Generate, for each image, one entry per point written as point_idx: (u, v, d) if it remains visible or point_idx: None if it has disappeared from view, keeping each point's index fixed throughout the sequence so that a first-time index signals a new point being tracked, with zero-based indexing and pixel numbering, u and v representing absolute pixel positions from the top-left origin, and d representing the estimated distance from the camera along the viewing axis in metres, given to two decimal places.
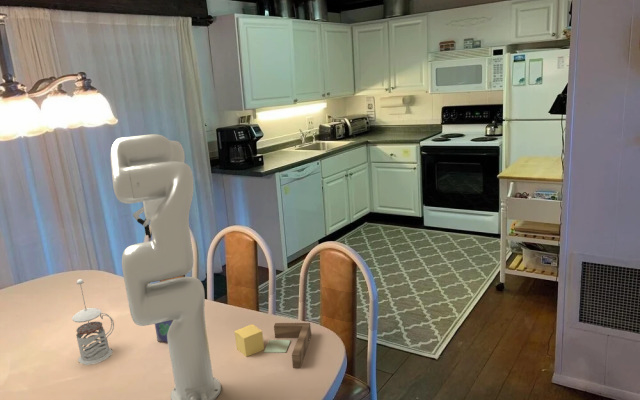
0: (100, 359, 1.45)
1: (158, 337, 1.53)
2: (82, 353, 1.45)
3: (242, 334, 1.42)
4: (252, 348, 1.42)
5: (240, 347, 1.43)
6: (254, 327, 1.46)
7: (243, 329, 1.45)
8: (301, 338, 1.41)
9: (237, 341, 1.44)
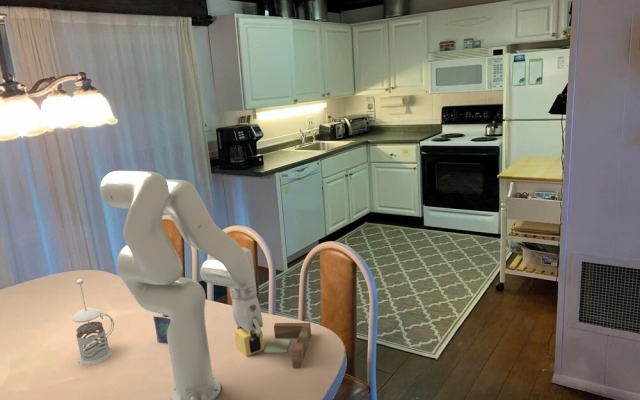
0: (100, 359, 1.45)
1: (158, 337, 1.53)
2: (82, 353, 1.45)
3: (242, 334, 1.42)
4: None
5: (240, 346, 1.43)
6: None
7: (243, 329, 1.45)
8: (301, 338, 1.41)
9: (237, 341, 1.44)
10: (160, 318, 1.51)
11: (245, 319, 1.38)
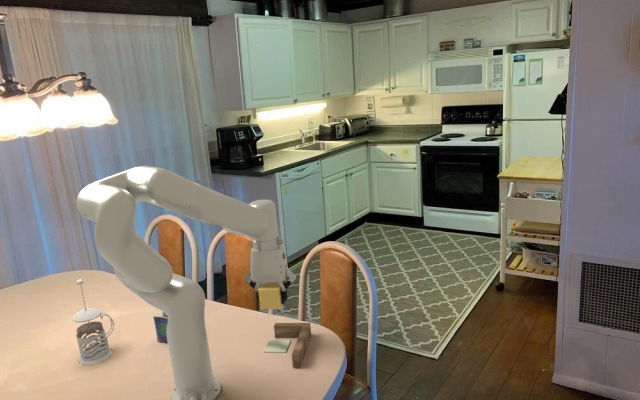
0: (100, 359, 1.45)
1: (158, 337, 1.53)
2: (82, 353, 1.45)
3: (270, 288, 1.39)
4: None
5: (269, 303, 1.39)
6: None
7: (264, 286, 1.41)
8: (301, 338, 1.41)
9: (263, 299, 1.39)
10: (160, 318, 1.51)
11: (279, 269, 1.37)
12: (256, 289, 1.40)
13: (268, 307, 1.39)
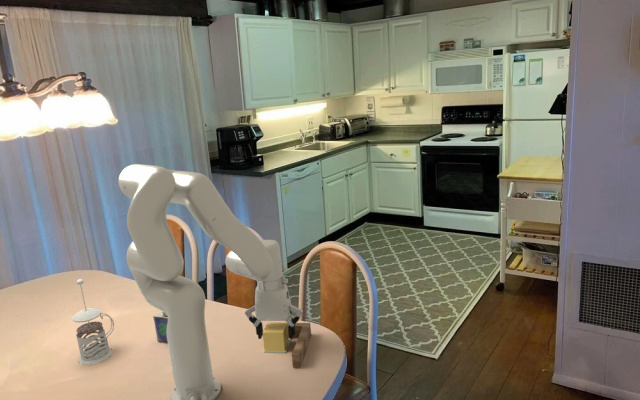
0: (100, 359, 1.45)
1: (158, 337, 1.53)
2: (82, 353, 1.45)
3: (275, 331, 1.42)
4: (285, 341, 1.44)
5: (273, 345, 1.42)
6: (274, 323, 1.46)
7: (268, 328, 1.44)
8: (301, 338, 1.41)
9: (267, 341, 1.42)
10: (160, 318, 1.51)
11: (283, 308, 1.39)
12: (255, 324, 1.43)
13: (272, 349, 1.42)
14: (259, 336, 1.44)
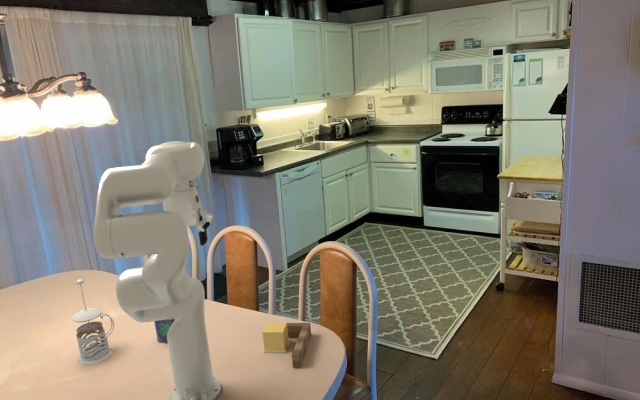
0: (100, 359, 1.45)
1: (158, 337, 1.53)
2: (82, 353, 1.45)
3: (275, 331, 1.42)
4: (285, 341, 1.44)
5: (273, 345, 1.42)
6: (274, 323, 1.46)
7: (268, 328, 1.44)
8: (301, 338, 1.41)
9: (267, 341, 1.42)
10: None
11: (192, 211, 1.35)
12: None
13: (272, 349, 1.42)
14: None
